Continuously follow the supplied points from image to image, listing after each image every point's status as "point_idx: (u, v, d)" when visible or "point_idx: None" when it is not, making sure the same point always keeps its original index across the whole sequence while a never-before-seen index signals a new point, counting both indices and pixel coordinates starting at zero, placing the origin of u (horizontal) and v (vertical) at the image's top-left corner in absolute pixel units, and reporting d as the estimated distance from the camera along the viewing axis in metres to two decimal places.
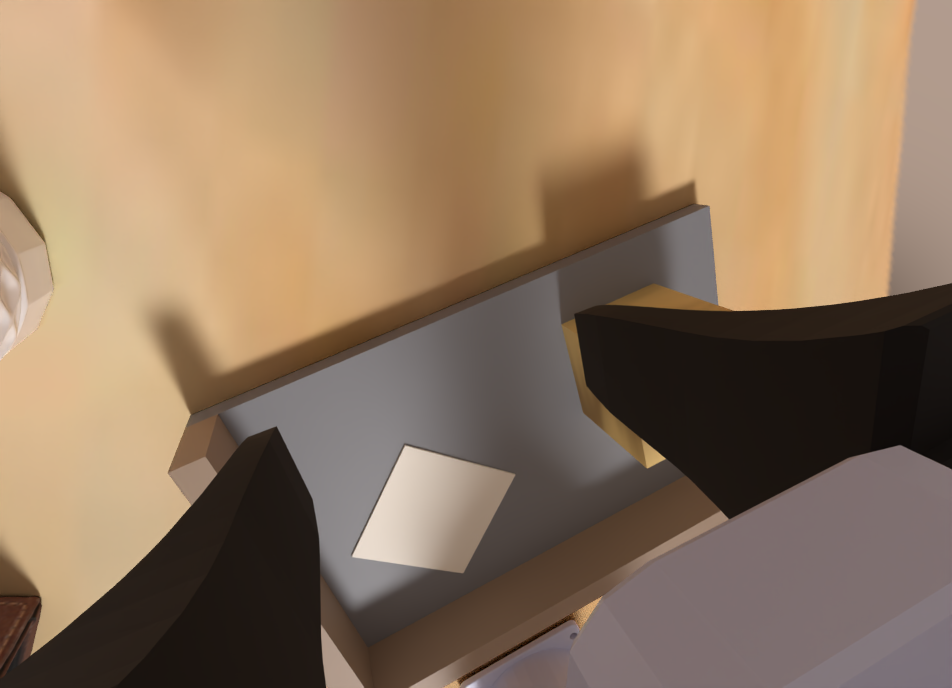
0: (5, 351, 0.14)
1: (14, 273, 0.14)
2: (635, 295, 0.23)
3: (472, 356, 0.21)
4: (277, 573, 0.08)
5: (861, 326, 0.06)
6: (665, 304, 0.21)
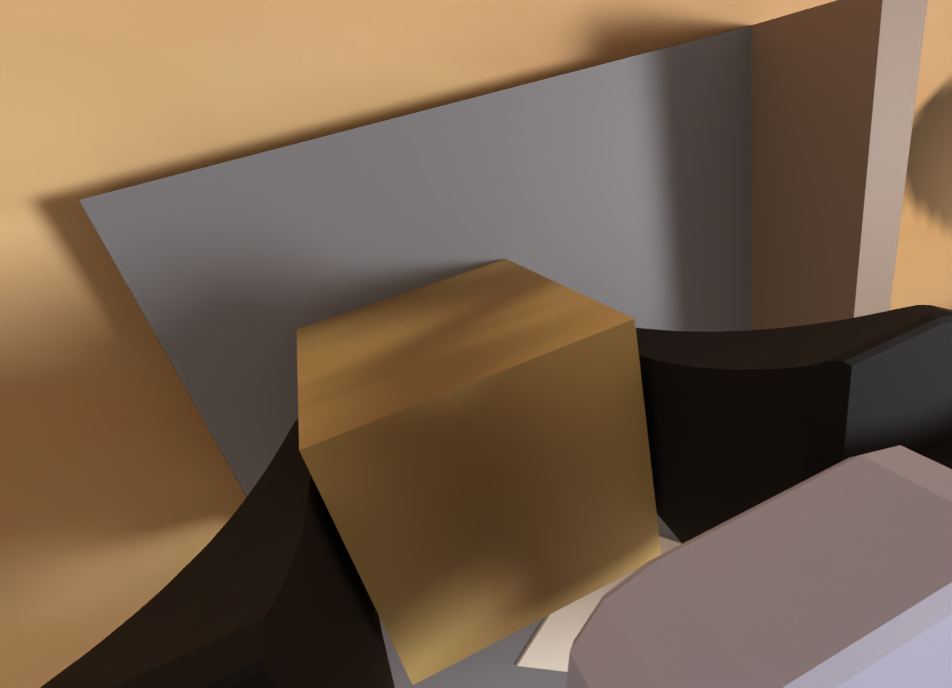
0: None
1: None
2: None
3: None
4: (342, 544, 0.08)
5: (792, 357, 0.06)
6: None
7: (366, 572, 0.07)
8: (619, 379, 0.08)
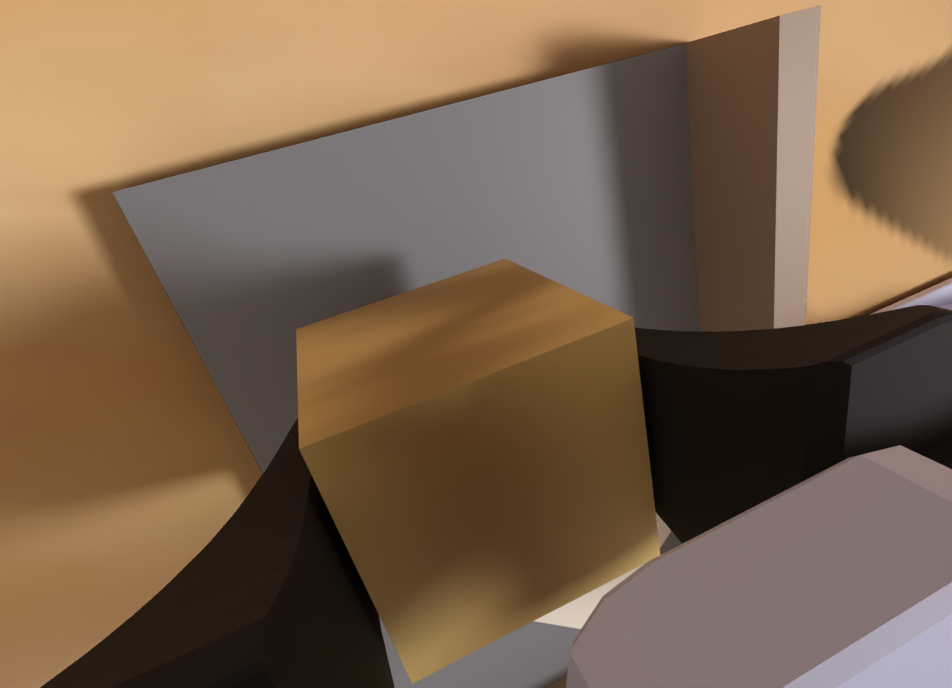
0: None
1: None
2: None
3: None
4: (342, 544, 0.08)
5: (792, 357, 0.06)
6: None
7: (366, 570, 0.07)
8: (618, 378, 0.08)
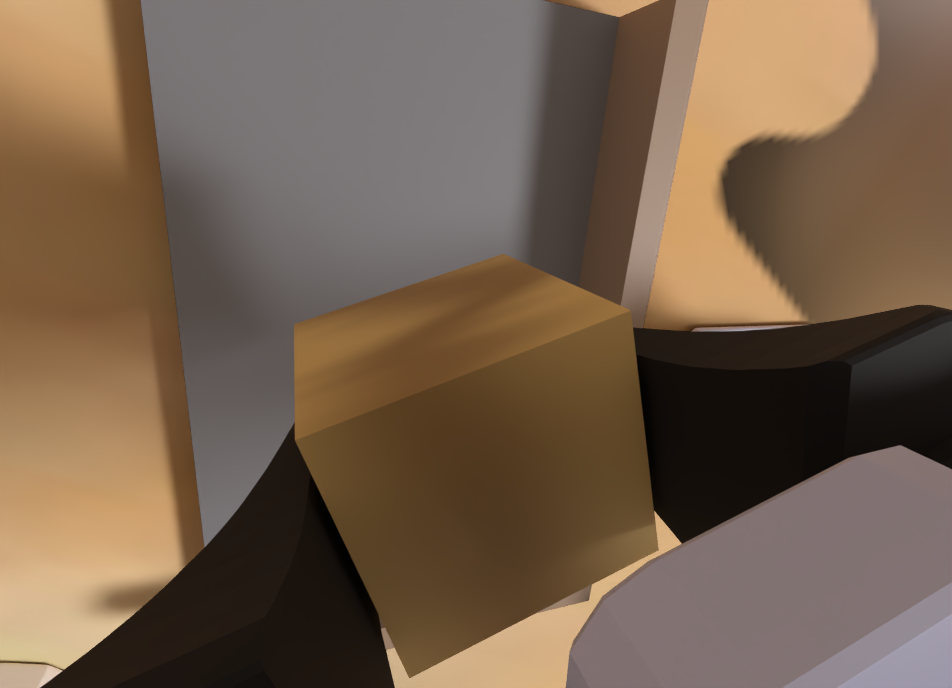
0: None
1: None
2: None
3: (254, 370, 0.17)
4: (342, 544, 0.08)
5: (792, 357, 0.06)
6: None
7: (362, 563, 0.07)
8: (615, 371, 0.08)
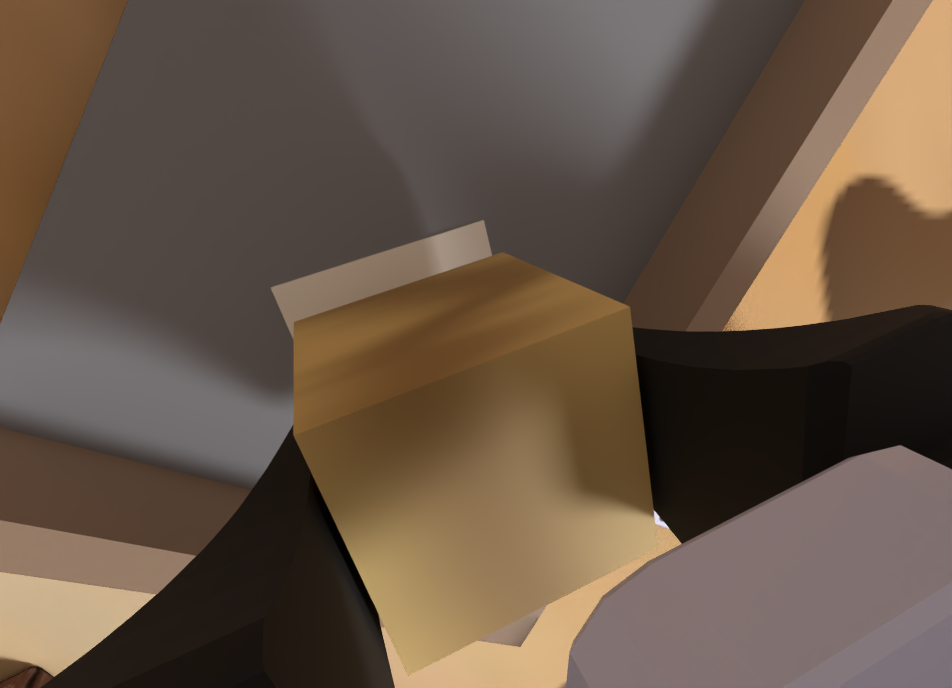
0: None
1: None
2: None
3: (234, 72, 0.11)
4: (342, 544, 0.08)
5: (792, 357, 0.06)
6: None
7: (361, 560, 0.07)
8: (614, 367, 0.08)
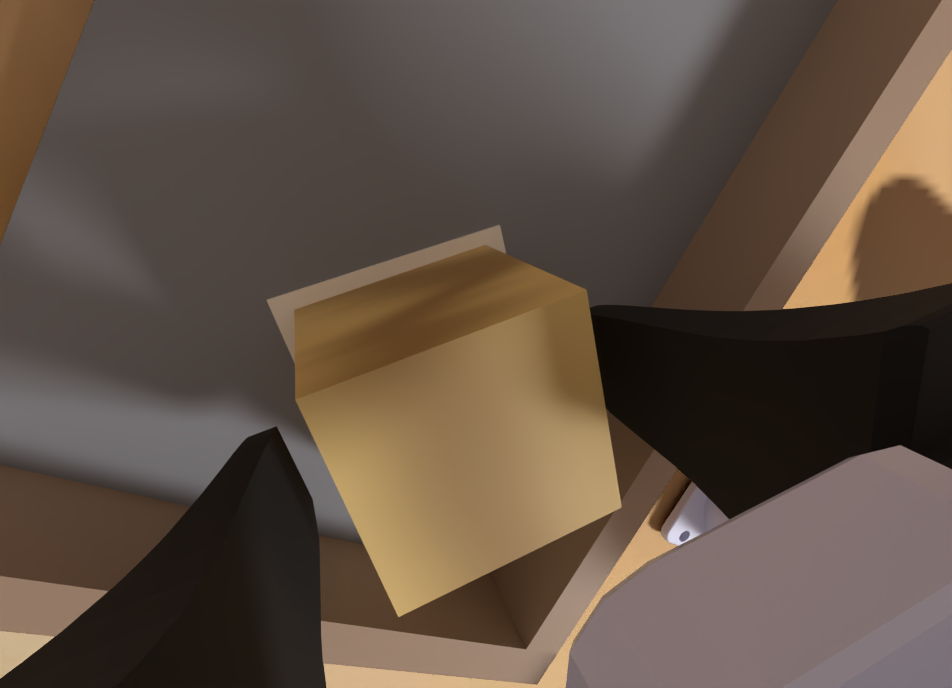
0: None
1: None
2: None
3: (225, 61, 0.10)
4: (277, 573, 0.08)
5: (861, 326, 0.06)
6: None
7: (355, 510, 0.08)
8: (575, 343, 0.09)
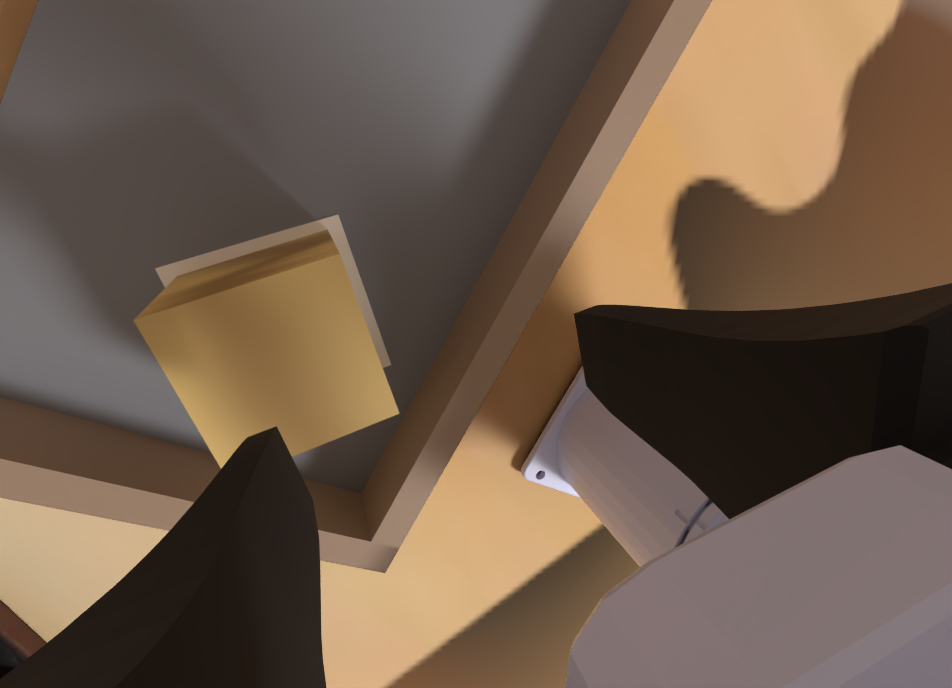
0: None
1: None
2: None
3: (112, 97, 0.14)
4: (277, 573, 0.08)
5: (861, 326, 0.06)
6: None
7: (185, 399, 0.13)
8: (337, 290, 0.13)
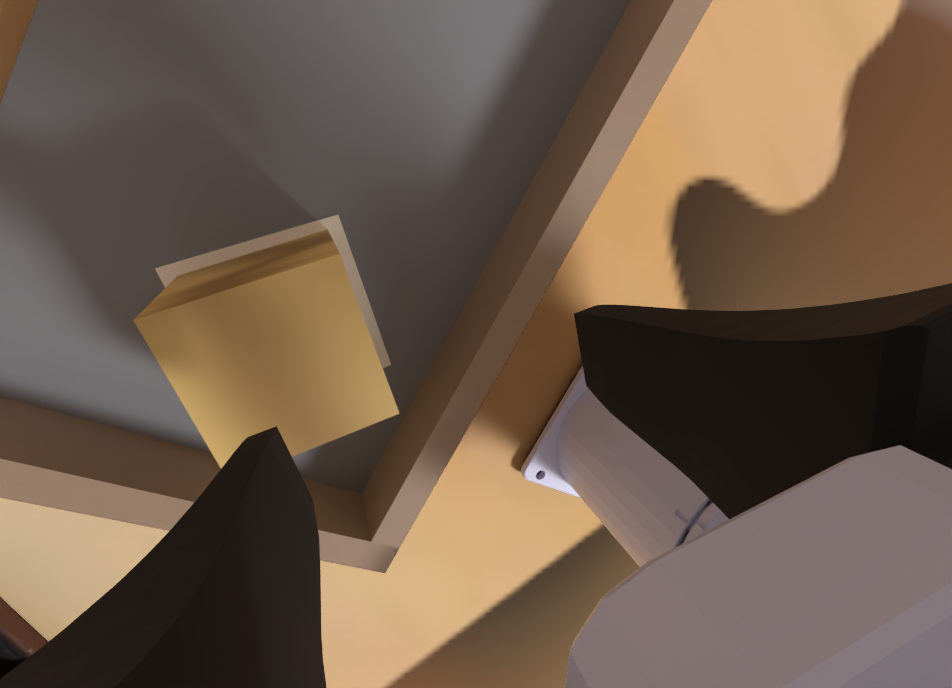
0: None
1: None
2: None
3: (112, 97, 0.14)
4: (277, 573, 0.08)
5: (861, 326, 0.06)
6: None
7: (185, 399, 0.13)
8: (337, 290, 0.13)
